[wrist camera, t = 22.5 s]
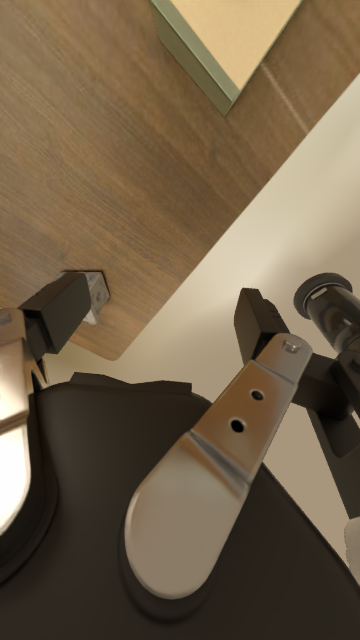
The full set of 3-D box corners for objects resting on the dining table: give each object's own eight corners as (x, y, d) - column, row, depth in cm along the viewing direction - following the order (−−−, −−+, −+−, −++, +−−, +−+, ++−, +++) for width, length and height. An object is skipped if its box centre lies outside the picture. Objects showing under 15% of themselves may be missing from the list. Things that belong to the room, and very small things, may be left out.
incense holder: (73, 301, 53) (50, 326, 44) (62, 269, 48) (33, 291, 39) (112, 301, 52) (95, 327, 44) (104, 269, 47) (84, 291, 39)
